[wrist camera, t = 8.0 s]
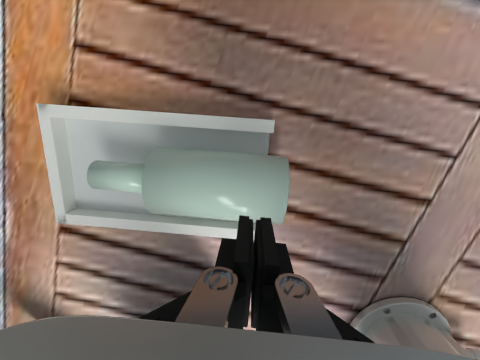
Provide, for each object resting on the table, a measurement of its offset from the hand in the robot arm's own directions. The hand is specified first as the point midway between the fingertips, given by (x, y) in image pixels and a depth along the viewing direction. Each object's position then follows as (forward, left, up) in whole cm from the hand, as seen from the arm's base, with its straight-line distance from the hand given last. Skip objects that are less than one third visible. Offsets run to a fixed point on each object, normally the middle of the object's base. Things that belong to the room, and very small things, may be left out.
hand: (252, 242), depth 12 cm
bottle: (-3, 0, -10) cm, 10 cm away
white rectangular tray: (+9, 0, -14) cm, 17 cm away
